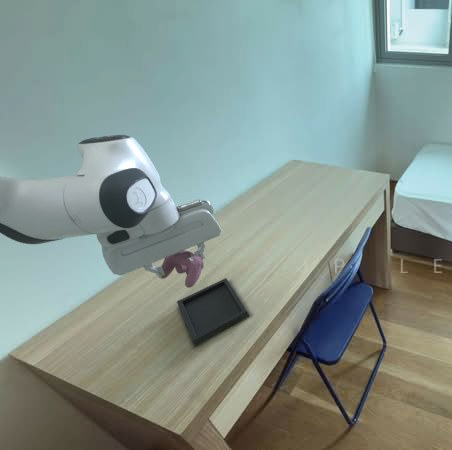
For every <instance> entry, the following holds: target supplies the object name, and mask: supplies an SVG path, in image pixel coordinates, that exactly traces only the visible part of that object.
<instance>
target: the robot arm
mask: <svg viewBox="0 0 452 450" xmlns="http://www.w3.org/2000/svg"><path fill="white" fill-rule="evenodd" d="M77 149H78V152H79V154H80V156H81V159H82V164H81V167H80V168H79V170H78V172H76V174H71V175H63V176H55V177H54V176H53V177H45V178H13V177H8V176H4V175H2V174H0V234H1V235H3V236H5V237H7V238H8V239H10V240H12V241H15V242H17V243H21V244H27V245H41V244H46V243H51V242H55V241H61V240H64V239H70V238H71V239H72V238H78V237H84V236H85V237H86V236H92V235H93V236H94V235H96V236H95V237H96V239H97V241H98V242H99V245H100V246H101V252H102V253H101V254H102V257H103V260H104V262H105V264H106V265H107V267H108V269H109V270H110V272H111V273H112V274H113V275H115V276H124V275H127V274H129V273H131V272H134V271H136V270H139V269H141V268H143V269H144V270H145V271H146V272H150V273H153V274H155V275H156V276H157V277H158V279H161V277H163V276H166V275H167V274H166V272H165V270H164V269H163V267H162V265H161V266H155V265H154V264H153V263H156V262H158V261H161V260H164V259H165V258H166V257H168V256H171V255H173V254H176V253H178V252H181V251H183V250H186V251H187V250H188V249H190V248H193V247H195V246H196V247H197V250H196V251H194V252H193V254H195V255H196V256H199V257H200V258H201V259H202V260H204V259H206V257H205V255H204V252H205V248H206V244H205V242H208V241H211V240H213V239H214V238H217V237H219V236H221V234H222V231H223V230H222V228H221V225H220V224H219V223H218V220H216V218H215V217H214V216H213V215H214V213H215V212H214V210H215V209H214V208H213V206H212V203H211V202H209V201H208V200H204V199H203V200H201V199H196V200H193V201H191V202H188V203H184V204H180V205H178V206H177V205H176V204H175V201H174V200H173V198H172V196H171V194H170V192H169V191H168V190H166V188H165V187H164V186H163V184H162V182H161V177H160V174H159V173H158V170H157V168H156V167H155V164H154V163H153V162H152V160H151V158H150V157H149V155H148V154H147V152H146V151H145V149H144V148H143V147H142V145H141V144H140V142H138V141H137V140H136V139H135V138H134V137H133V136H130V135H127V134H115V135H105V136H103V135H102V136H98V137H90V138H86V139H84V140H81V141H79V142H78V143H77Z"/></svg>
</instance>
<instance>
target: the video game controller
mask: <svg viewBox="0 0 452 450" xmlns="http://www.w3.org/2000/svg"><path fill="white" fill-rule="evenodd" d="M161 266H162V267H163V269H164V270H165V272H166V274H167V275H166V276H163V277H161V278H160V279H161V280H162V279H163V280H164V279H166V278H168V277H169V276H170V275H171V274H172V273H173V271H174V269H175V271H176V273H177V274H179V275H181V274H186V276H185V280H184V286H185V287H186V288H188V289H189V288H192V287H193V286H195V285H196V283H197V282H198V281H199V279H200V277H201V274H202V270H203V269H204V259H201V258H200V257H199V256H196V255H195V254H194V252H191V251H189V250H187V249H186V250H183V251H181V252H178V253H176V254H173V255H171V256H168V257H166V258H163V262H162V264H161Z"/></svg>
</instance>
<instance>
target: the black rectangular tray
mask: <svg viewBox="0 0 452 450" xmlns="http://www.w3.org/2000/svg"><path fill="white" fill-rule="evenodd" d="M176 304H177V306H178V308H179V311H180V313H181V316H182V318H183V321H184V323H185V327H186V329H187V332H188V334H189V336H190V339H191V342H192V343H193V344H194V346H195V347H197V346H199V345H201V344H203V343H205V342H207V341H208V340H210V339H211V338H214V337H215V336H217V335H219V334H220V333H223V332H224V331H227V330H228V329H229V328H231V327H233V326H234V325H236V324H239V323H240V322H242V321H244V320H245V319H247V318H249V317H250V314H249V312H248V310H247V309H246V307H245V305H244V304H243V302H242V301H241V299H240V297H239V296H238V294H237V293H236V291H235V290H234V288H233V286H232V284H231V283H230V282H229V280H228V278H227V277H225V278H223V279H220V280H218V281H216V282H214V283H212V284H210V285H208V286H206V287H204V288H202V289H200V290H198V291H196V292H193V293H191V294H189V295H187V296H185V297H183V298H181V299H179V300H177V301H176Z"/></svg>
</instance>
